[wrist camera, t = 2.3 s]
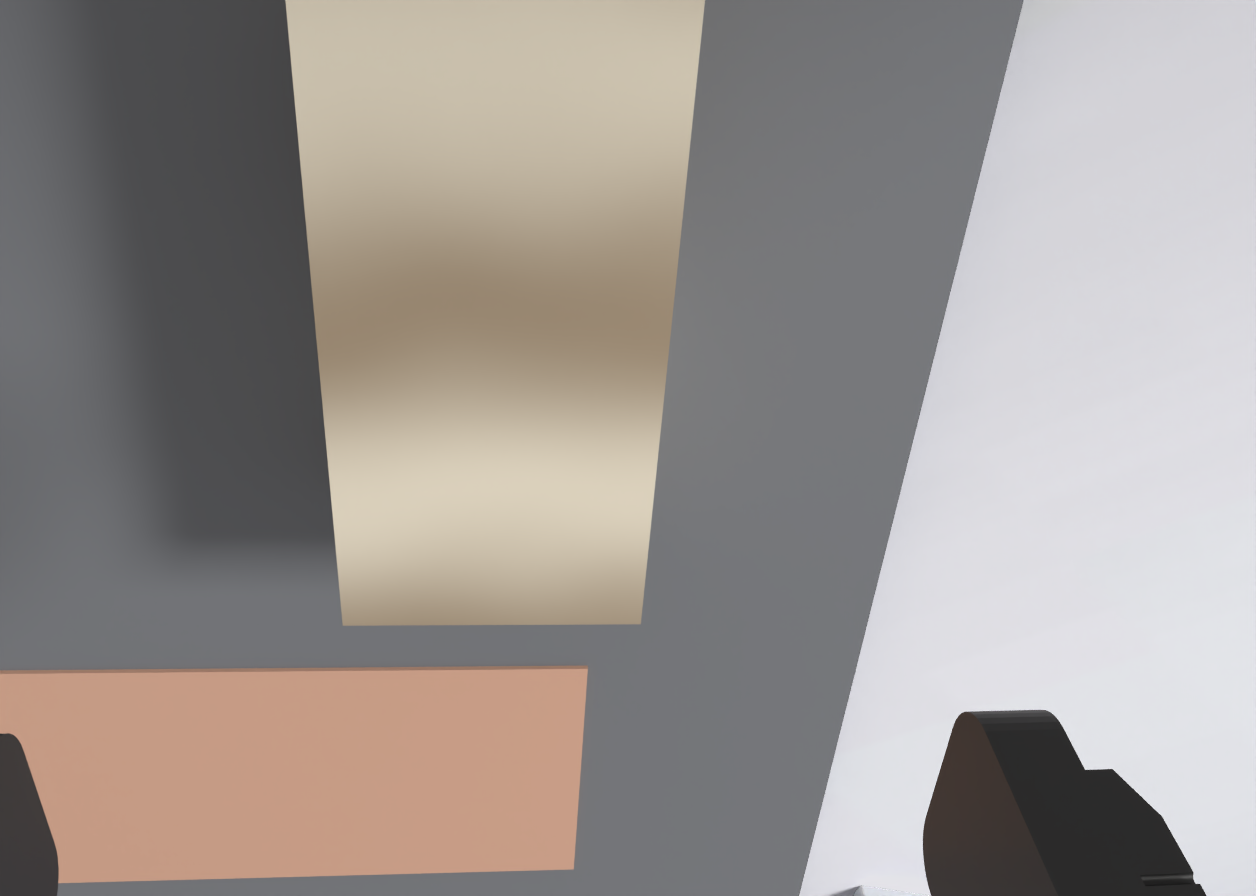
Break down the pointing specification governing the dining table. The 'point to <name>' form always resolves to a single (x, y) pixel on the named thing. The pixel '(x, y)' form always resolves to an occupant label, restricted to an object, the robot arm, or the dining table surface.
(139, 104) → the rubber mat
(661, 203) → the cream block
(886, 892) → the hard drive
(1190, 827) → the dining table surface
